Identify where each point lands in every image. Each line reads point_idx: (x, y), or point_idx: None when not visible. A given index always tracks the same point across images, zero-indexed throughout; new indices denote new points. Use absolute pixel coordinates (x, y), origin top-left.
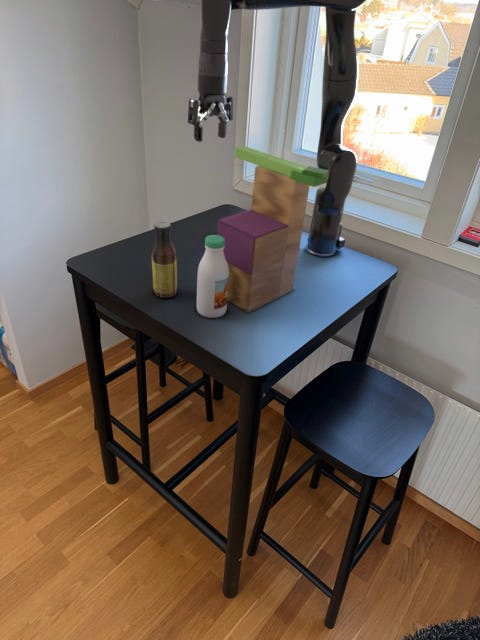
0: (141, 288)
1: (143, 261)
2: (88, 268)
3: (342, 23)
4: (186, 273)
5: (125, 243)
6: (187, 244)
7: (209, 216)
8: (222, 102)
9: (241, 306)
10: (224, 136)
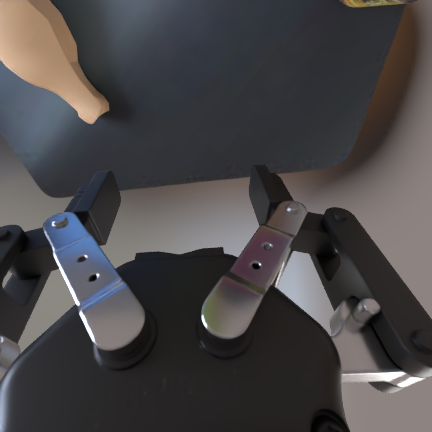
0: (360, 31)
1: (287, 111)
2: (346, 138)
3: None
4: (273, 21)
5: None
6: (196, 118)
7: None
8: (58, 354)
9: None
10: (101, 171)
